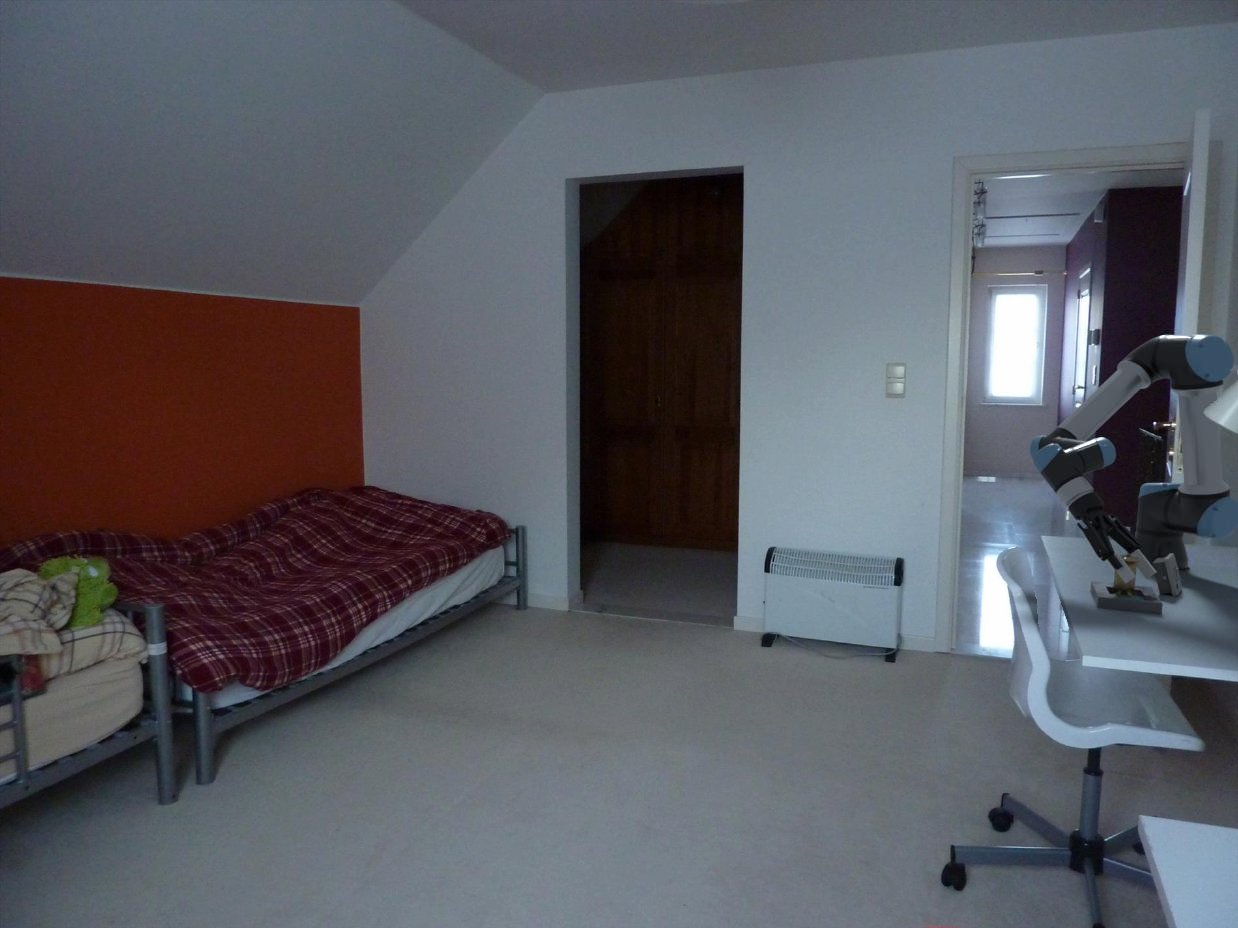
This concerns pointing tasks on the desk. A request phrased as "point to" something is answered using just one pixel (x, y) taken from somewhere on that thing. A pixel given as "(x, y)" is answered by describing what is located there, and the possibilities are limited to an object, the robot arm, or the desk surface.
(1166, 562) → the electrical switch
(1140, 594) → the rack plate
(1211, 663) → the desk surface
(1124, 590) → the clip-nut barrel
